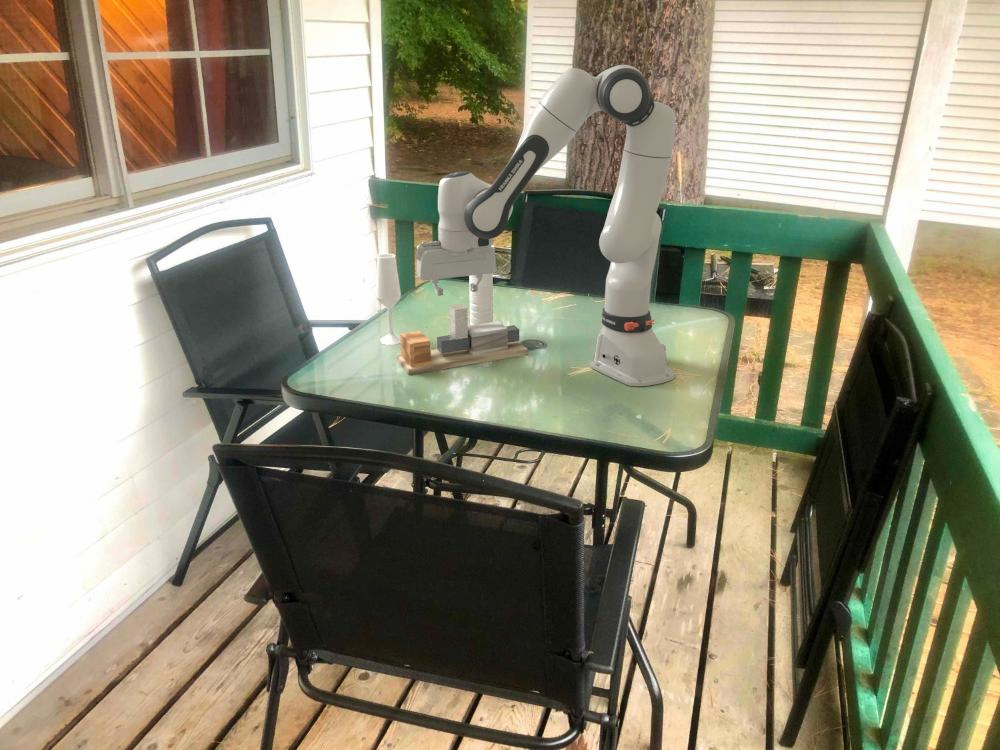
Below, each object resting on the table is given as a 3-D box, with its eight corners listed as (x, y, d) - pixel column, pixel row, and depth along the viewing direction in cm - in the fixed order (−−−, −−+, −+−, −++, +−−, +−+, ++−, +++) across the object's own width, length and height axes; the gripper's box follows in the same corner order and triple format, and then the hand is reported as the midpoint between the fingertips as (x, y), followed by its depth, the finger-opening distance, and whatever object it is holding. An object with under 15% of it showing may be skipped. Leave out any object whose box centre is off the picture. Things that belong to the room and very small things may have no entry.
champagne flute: (387, 346, 209) (382, 260, 200) (374, 340, 214) (368, 255, 205) (408, 340, 214) (403, 256, 204) (394, 334, 218) (389, 251, 209)
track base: (527, 354, 204) (528, 327, 201) (408, 374, 192) (407, 346, 189) (511, 342, 212) (512, 315, 209) (396, 360, 200) (395, 333, 197)
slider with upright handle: (519, 341, 205) (520, 300, 201) (442, 354, 197) (440, 311, 192) (513, 336, 208) (513, 296, 204) (436, 348, 200) (435, 307, 196)
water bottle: (484, 342, 212) (483, 253, 202) (465, 337, 216) (463, 250, 206) (502, 333, 219) (502, 246, 209) (483, 328, 222) (482, 243, 212)
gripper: (420, 245, 183) (421, 301, 188) (498, 238, 190) (498, 292, 196) (411, 239, 188) (413, 294, 193) (488, 233, 196) (488, 285, 201)
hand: (456, 293), depth 195 cm, fingers open, 8 cm apart
